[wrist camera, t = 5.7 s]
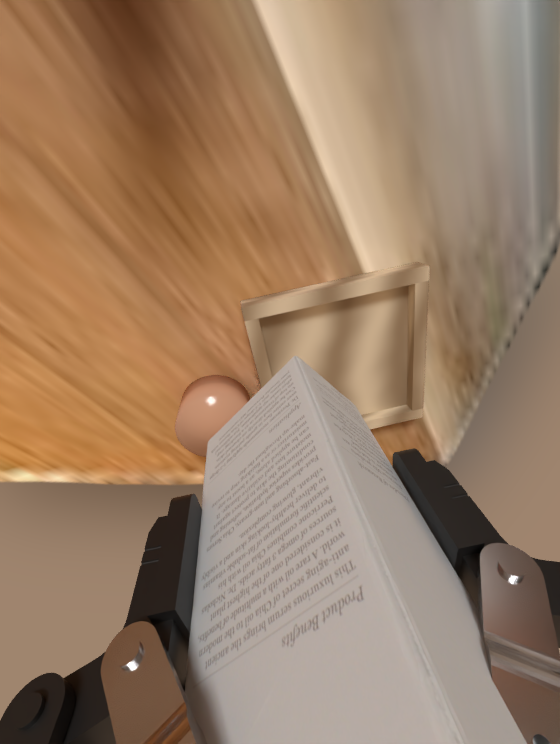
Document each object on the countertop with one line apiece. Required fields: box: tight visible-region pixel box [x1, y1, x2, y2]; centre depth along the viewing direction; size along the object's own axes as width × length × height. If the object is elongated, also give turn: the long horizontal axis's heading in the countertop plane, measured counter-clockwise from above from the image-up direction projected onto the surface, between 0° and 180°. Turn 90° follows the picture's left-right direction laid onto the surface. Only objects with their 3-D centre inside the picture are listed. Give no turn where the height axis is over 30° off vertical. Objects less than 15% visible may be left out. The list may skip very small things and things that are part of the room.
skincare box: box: [184, 356, 537, 744], centre depth 10 cm, size 6×4×12 cm
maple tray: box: [241, 262, 430, 429], centre depth 31 cm, size 16×16×2 cm
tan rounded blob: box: [175, 375, 250, 457], centre depth 31 cm, size 7×7×4 cm
